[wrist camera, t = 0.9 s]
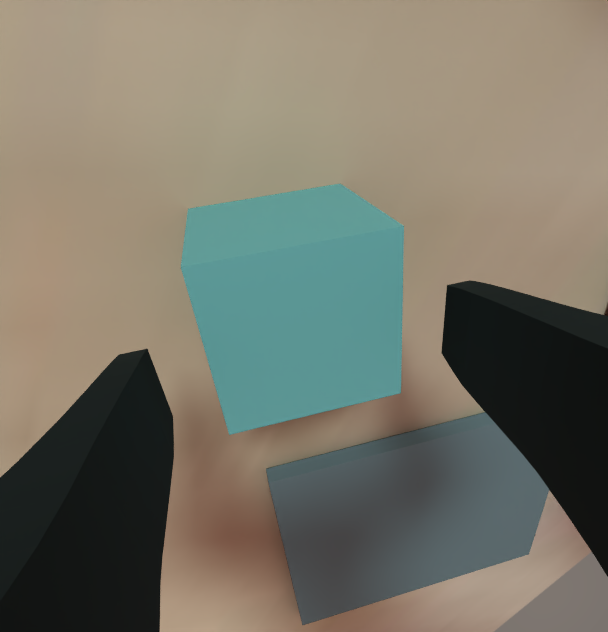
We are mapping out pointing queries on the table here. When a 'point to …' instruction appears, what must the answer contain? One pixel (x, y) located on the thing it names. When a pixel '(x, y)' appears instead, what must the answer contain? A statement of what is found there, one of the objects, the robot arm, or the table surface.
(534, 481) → the grey blue flat plate
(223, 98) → the table surface
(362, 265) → the cube
